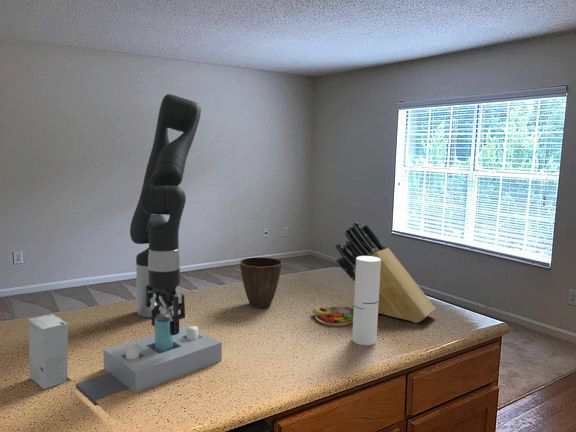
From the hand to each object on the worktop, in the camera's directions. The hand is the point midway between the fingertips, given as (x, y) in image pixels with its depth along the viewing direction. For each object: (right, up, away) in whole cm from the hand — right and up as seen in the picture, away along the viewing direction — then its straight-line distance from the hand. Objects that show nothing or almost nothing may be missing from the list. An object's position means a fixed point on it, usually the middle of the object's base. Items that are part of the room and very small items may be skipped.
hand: (165, 329), depth 118 cm
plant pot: (+21, -4, +52) cm, 56 cm away
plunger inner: (+5, -8, +7) cm, 12 cm away
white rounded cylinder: (-6, -9, -5) cm, 12 cm away
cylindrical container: (+54, -9, +23) cm, 59 cm away
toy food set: (+46, -7, +39) cm, 61 cm away
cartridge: (-1, -9, +1) cm, 9 cm away
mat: (-11, -11, -9) cm, 18 cm away
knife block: (+64, -5, +50) cm, 81 cm away
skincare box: (-26, -11, -6) cm, 29 cm away
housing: (-1, -10, +1) cm, 10 cm away
